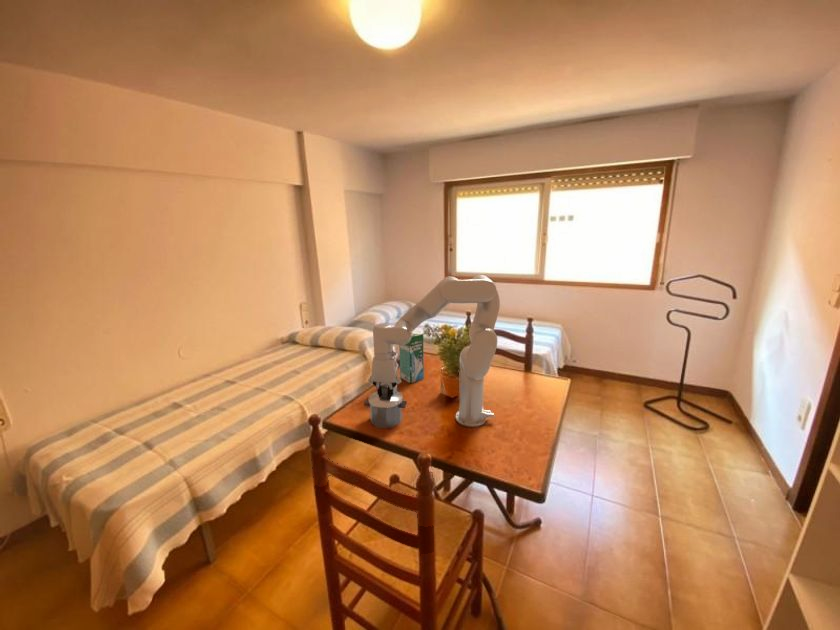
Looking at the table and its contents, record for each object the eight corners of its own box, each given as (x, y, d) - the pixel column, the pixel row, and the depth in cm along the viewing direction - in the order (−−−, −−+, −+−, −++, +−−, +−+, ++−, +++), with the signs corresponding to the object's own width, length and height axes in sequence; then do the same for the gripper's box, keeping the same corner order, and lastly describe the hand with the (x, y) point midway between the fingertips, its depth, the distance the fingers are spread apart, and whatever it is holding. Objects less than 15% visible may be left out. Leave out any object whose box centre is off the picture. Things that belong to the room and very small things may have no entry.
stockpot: (409, 412, 146) (408, 394, 144) (403, 429, 134) (402, 409, 132) (370, 410, 149) (369, 391, 146) (361, 426, 136) (360, 406, 134)
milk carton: (413, 373, 186) (412, 329, 180) (423, 378, 179) (423, 333, 173) (400, 377, 181) (398, 333, 174) (410, 383, 174) (409, 337, 168)
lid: (404, 394, 145) (404, 379, 144) (400, 411, 132) (399, 394, 130) (372, 393, 147) (372, 378, 145) (364, 410, 133) (363, 393, 131)
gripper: (405, 352, 137) (407, 393, 141) (366, 350, 139) (368, 391, 143) (402, 359, 129) (403, 402, 134) (360, 357, 132) (363, 399, 136)
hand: (385, 396), depth 139 cm, fingers closed on lid, 3 cm apart
